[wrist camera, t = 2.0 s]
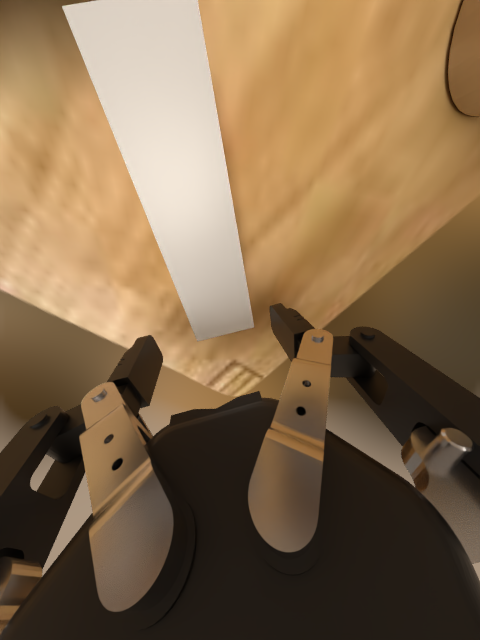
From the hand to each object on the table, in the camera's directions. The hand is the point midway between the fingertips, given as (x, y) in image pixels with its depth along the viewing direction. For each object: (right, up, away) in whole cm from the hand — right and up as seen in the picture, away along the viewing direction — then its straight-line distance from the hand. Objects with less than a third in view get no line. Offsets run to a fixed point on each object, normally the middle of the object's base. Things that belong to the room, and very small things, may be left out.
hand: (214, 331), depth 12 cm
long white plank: (-2, +9, +3) cm, 9 cm away
